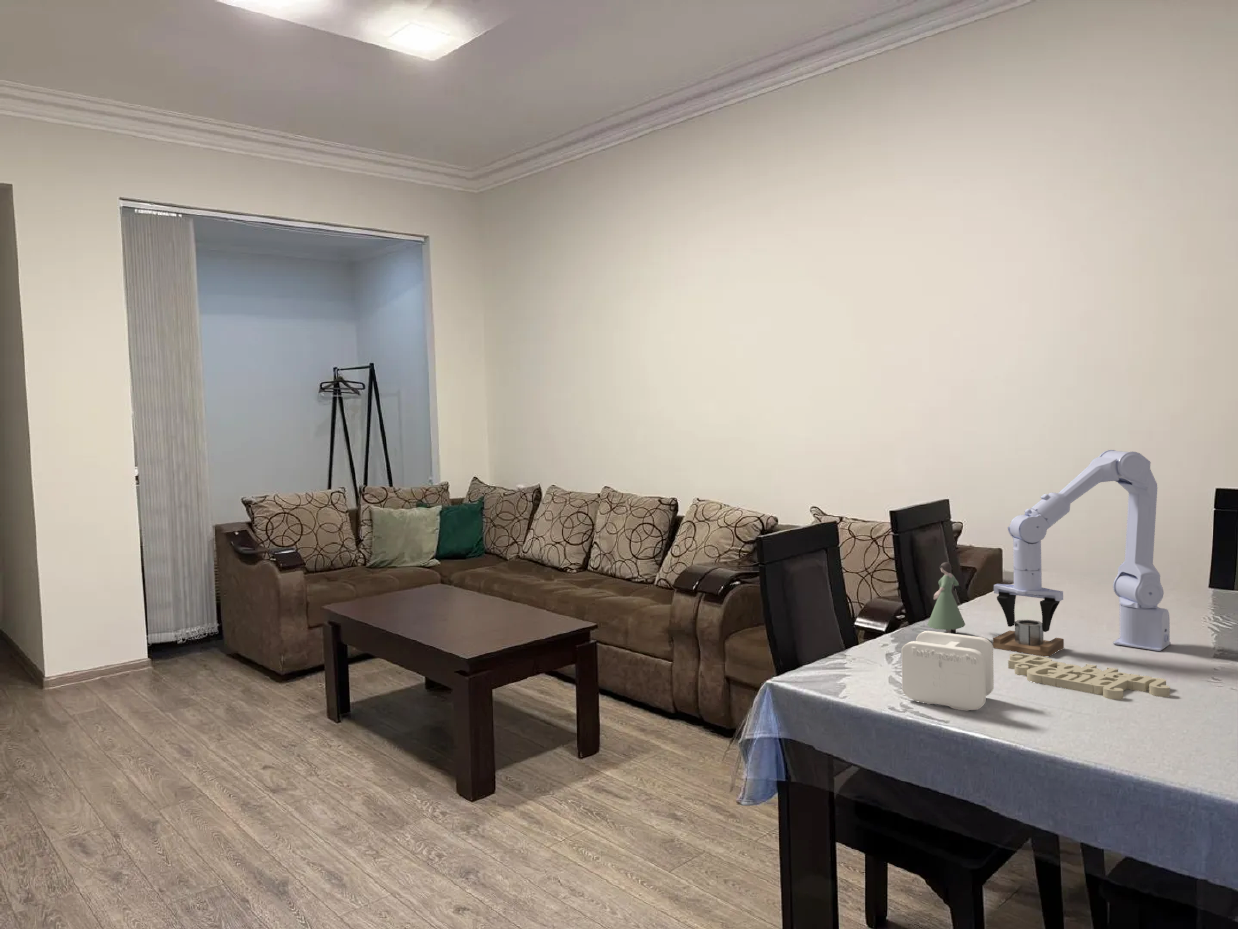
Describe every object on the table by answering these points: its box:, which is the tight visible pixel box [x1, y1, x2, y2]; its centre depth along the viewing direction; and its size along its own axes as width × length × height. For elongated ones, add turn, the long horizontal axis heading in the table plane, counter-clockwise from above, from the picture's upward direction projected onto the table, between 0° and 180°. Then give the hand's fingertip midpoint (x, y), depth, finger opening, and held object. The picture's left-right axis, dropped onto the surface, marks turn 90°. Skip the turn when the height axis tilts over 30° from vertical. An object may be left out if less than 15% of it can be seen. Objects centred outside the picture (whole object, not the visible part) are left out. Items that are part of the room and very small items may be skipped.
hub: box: [1014, 619, 1044, 646], centre depth 197 cm, size 6×6×4 cm
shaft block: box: [992, 623, 1065, 657], centre depth 197 cm, size 12×9×6 cm
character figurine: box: [927, 561, 966, 634], centre depth 210 cm, size 16×8×18 cm, turn 136°
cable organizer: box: [900, 630, 995, 712], centre depth 164 cm, size 15×11×12 cm
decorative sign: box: [1007, 653, 1171, 701], centre depth 173 cm, size 31×2×15 cm
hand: (1028, 628), depth 196 cm, fingers open, 7 cm apart
